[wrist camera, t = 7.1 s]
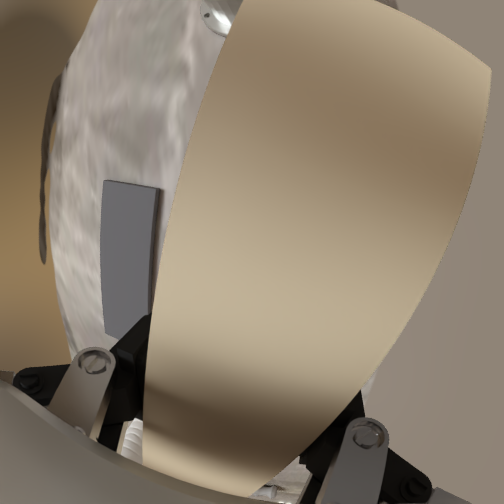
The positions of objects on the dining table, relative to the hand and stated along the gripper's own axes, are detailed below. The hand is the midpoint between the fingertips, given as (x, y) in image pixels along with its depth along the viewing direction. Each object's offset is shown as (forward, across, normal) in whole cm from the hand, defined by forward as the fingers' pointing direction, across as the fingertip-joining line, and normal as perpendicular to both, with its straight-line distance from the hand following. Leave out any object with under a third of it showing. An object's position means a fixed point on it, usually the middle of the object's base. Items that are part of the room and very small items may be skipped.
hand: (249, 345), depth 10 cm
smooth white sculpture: (+22, -11, +67) cm, 72 cm away
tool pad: (+23, +21, +12) cm, 33 cm away
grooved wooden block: (+2, 0, 0) cm, 2 cm away
